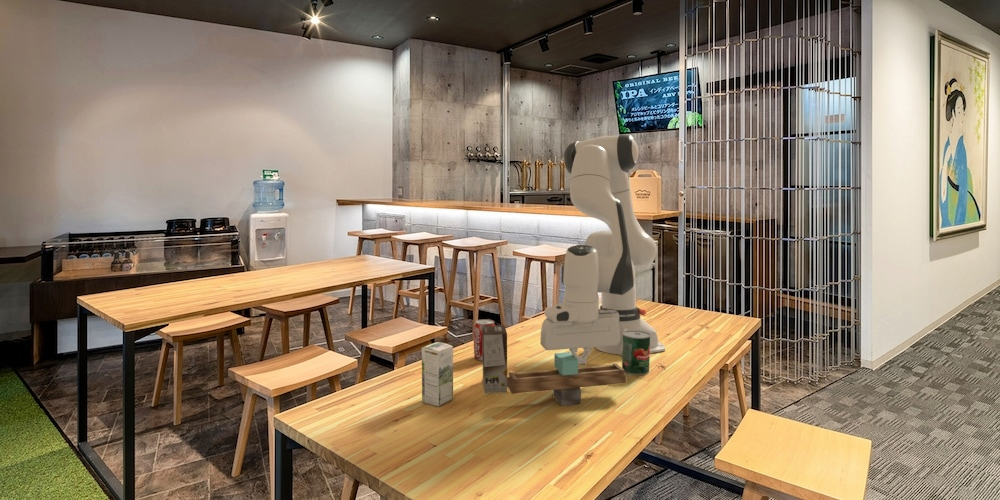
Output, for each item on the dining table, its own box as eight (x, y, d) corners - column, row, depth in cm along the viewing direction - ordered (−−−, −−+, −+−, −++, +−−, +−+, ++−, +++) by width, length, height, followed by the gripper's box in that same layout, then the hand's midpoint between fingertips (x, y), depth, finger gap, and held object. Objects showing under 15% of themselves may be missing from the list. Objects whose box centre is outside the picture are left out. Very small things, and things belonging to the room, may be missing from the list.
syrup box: (436, 394, 140) (435, 341, 139) (454, 399, 137) (453, 344, 135) (421, 402, 136) (420, 346, 134) (439, 407, 132) (438, 350, 131)
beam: (615, 389, 143) (616, 362, 142) (627, 399, 136) (628, 370, 135) (506, 400, 137) (506, 371, 136) (512, 411, 130) (512, 381, 129)
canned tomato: (644, 376, 152) (645, 339, 151) (617, 372, 157) (618, 335, 155) (652, 368, 159) (653, 332, 158) (626, 364, 163) (627, 329, 162)
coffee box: (508, 393, 141) (507, 333, 139) (483, 393, 141) (483, 334, 139) (504, 380, 150) (504, 324, 149) (482, 381, 150) (481, 325, 148)
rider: (569, 370, 139) (569, 352, 139) (577, 379, 133) (578, 360, 132) (554, 371, 138) (554, 353, 138) (562, 380, 132) (562, 361, 132)
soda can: (493, 362, 165) (493, 324, 164) (471, 361, 167) (471, 323, 165) (498, 355, 172) (498, 319, 171) (476, 354, 174) (476, 318, 172)
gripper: (614, 305, 140) (612, 357, 141) (538, 310, 135) (538, 363, 137) (624, 311, 134) (623, 364, 135) (546, 315, 129) (545, 371, 131)
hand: (580, 364), depth 136 cm, fingers closed
